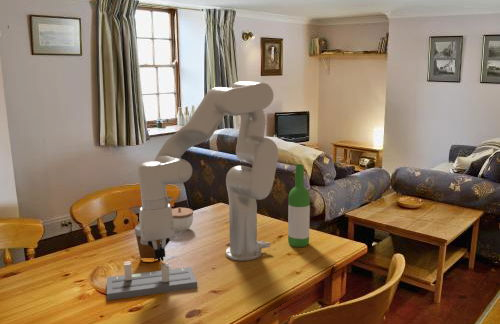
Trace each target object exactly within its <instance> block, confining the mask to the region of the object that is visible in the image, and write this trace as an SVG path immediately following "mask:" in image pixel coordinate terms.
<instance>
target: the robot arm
mask: <svg viewBox="0 0 500 324" xmlns="http://www.w3.org/2000/svg"><path fill="white" fill-rule="evenodd" d="M274 95H275V94H274V91H273V88H272V86H270V85H269V84H268V83H266V82H263V81H262V82H261V81H246V80H243V81H242V80H241V81H237V82H235V83H233V84H232V86H231V87H225V86H224V87H223V86H217V87H212V88H210V89H209V90H208V92H206V94H205V95H204V97H203V99H201V102H200V103H199V104H198V106H197V107H196V109H195V111H194V112H193V114H192V115H191V117H190V119H188V122H187V123H185V124H184V126H182V127H181V128H179V130H177V131H176V132H175V133H173V134H172V135H171V136H170V137H169V138H168V139H167V140H166V141H165V142H164V143H163V145H162V147H161V149H160V150H159V151H158V153H157V155H156V156H155V158H154V161H152V160H150V161H146V162H142V163H140V164H139V166H138V168H137V172H138V180H139V189H140V200H141V207H140V208H139V212H138V214H139V215H138V216H139V224H140V233H141V244H142V245H150V246H151V247H152V248H154V249H155V258H158V261H157V262H164V261H165V260H164V259H165V258H164V257H166V250H165V249H166V247H167V245H168V244H169V243H170V242H173V241H174V240H177V236H176V232H175V227H174V220H173V215H172V210H171V209H172V206H171V204H170V203H171V202H173V197H172V196H168V195H167V194H168V193H167V186H168V185H176V184H177V185H178V184H184V183H186V182H188V180H189V179H191V177H192V175H193V167H192V165H191V163H190V162H188V161H187V160H186V159H183V158H181V157H182V156H183V155H184V153H185V152H187V151H188V150H189V149H191V148H192V147H194V146H197V145H199V144H201V143H204V142H206V141H209V140H210V139H212V136H213V135H214V133H215V132H216V130H217V128H218V127H219V125H220V124H221V122H222V121H223V119H224V117H225V116H230V117H232V116H233V117H235V116H240V123H239V130H238V136H237V142H236V146H235V147H236V148H235V155H236V157H237V159H238V160H240V161H241V162H244V163H247V164H251V165H252V167H250V166H247V165H236V166H233V167H231V168H230V169H229V170H228V171H227V173H226V177H225V185H226V190H227V194H228V207H229V208H228V210H229V211H228V215H229V216H228V218H229V223H228V224H229V246H228V247H227V248H226V249H225V256H226V257H227V258H228V259H231V260H232V261H240V262H244V261H246V262H247V261H252V260H255V259H258V258H260V256H261V255H262V249H263V248H264V249H265V248H267V249H268V248H271V242H270V241H268V242H267V241H266V242H265V240H259V241H258V226H257V224H258V222H257V221H258V219H257V218H258V217H257V216H258V213H257V212H258V210H257V209H258V205H257V200H264V199H266V198H267V197H268V196H269V195H270V193H271V192H272V189H273V186H274V181H275V175H276V171H277V166H278V161H279V149H278V148H279V147H278V145H277V144H276V142H275V141H274V140H272V139H271V138H269V137H265V131H266V122H267V121H266V114H265V112H264V111H265V109H267V108H268V107H269V106H270V105H271V104H272V103H273V100H274ZM156 240H161V244H160V246H158V244H157V243H156ZM159 248H160V249H159Z"/></svg>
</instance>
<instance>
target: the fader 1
mask: <svg viewBox="0 0 500 324" xmlns="http://www.w3.org/2000/svg"><path fill="white" fill-rule="evenodd" d="M123 266H124V267H123V270H124V271H123V272H124V275H125V281H126V280H132V274H133V273H132V272H133V271H132V261H131V260H130V261H129V260H127V261H123Z"/></svg>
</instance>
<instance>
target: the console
mask: <svg viewBox="0 0 500 324" xmlns="http://www.w3.org/2000/svg"><path fill="white" fill-rule="evenodd" d="M192 289H198V281H197V278H196V276H195V272H194V270H193V268H192V266H187V267H179V268H171V269H170V268H169V282H163V281H162V271H161V270H156V271H155V270H153V271H147V272H146V271H145V272H140V273H139V272H138V273H132V280H126V281H125V274H124V275H116V276H107V277H106V300H107V301H112V300H113V301H114V300H120V299H127V298H134V297H141V296H148V295H149V296H151V295H156V294H162V293H170V292H178V291H184V290H192Z"/></svg>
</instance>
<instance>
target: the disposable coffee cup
mask: <svg viewBox="0 0 500 324" xmlns="http://www.w3.org/2000/svg"><path fill="white" fill-rule="evenodd" d="M133 232H134V234H135V237H136V242H137V247H138V248H137V249H138V253H139V258H140V257H141V258H154V259H158V258H155V249H154V248H152V247H151V246H150V245H142V244H141V233H140V223H138V224H137V225H136V226H135V227H134V230H133ZM156 243H157V244H158V246H160V244H161V240H156ZM159 249H160V248H159ZM141 258H140V259H141Z"/></svg>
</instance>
